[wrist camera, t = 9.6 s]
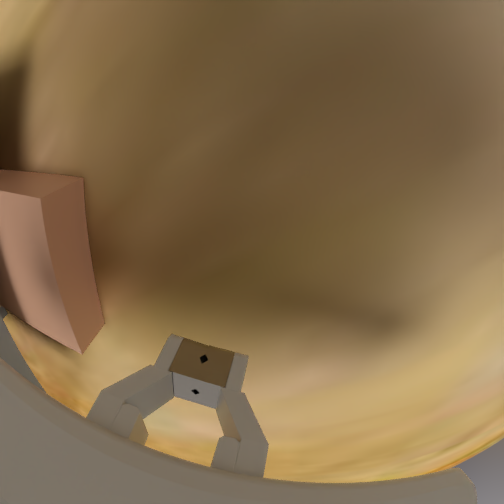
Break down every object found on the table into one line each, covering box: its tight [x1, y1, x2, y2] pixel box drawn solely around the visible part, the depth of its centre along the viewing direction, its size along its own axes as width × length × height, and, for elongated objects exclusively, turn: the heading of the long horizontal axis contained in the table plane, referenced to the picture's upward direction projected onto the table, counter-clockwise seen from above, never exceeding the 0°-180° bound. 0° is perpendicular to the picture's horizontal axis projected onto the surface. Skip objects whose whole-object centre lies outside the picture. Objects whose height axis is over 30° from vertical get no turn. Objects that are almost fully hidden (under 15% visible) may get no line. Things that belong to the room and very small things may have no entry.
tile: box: [0, 169, 105, 354], centre depth 13 cm, size 10×14×4 cm
